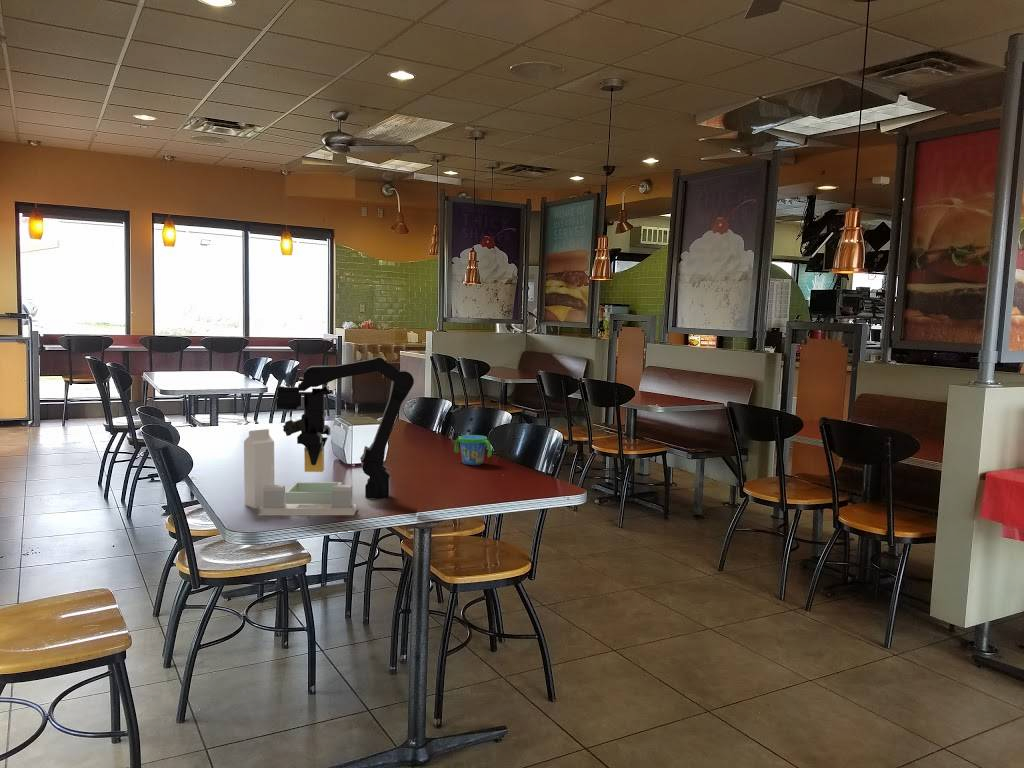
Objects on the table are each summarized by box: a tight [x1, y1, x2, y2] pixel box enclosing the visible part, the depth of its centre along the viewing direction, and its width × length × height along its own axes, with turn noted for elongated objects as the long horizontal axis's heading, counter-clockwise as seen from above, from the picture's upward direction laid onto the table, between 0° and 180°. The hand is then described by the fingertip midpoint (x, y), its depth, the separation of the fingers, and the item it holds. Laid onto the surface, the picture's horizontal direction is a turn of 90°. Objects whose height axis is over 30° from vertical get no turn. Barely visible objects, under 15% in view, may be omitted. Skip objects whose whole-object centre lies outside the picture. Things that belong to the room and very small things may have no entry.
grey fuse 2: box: [332, 484, 353, 508], centre depth 204 cm, size 5×3×7 cm, turn 94°
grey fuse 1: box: [263, 484, 286, 508], centre depth 203 cm, size 5×3×7 cm, turn 94°
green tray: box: [285, 481, 343, 504], centre depth 218 cm, size 14×14×4 cm
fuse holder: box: [257, 503, 358, 516], centre depth 204 cm, size 25×7×2 cm, turn 94°
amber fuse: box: [303, 446, 325, 473], centre depth 217 cm, size 5×3×7 cm, turn 94°
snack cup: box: [453, 434, 493, 466], centre depth 282 cm, size 16×10×10 cm
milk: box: [243, 428, 275, 509], centre depth 210 cm, size 6×6×22 cm
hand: (314, 463), depth 218 cm, fingers closed on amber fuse, 3 cm apart
